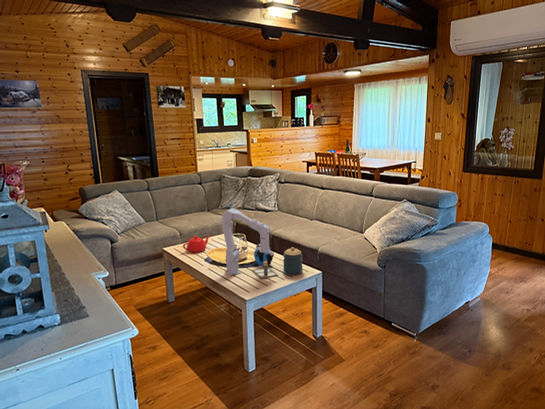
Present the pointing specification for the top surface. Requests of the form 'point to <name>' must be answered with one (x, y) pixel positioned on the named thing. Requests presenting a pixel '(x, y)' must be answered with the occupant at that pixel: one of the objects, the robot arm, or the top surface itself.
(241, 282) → the top surface
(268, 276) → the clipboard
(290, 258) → the canister
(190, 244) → the teapot
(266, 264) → the marker
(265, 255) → the alarm clock
